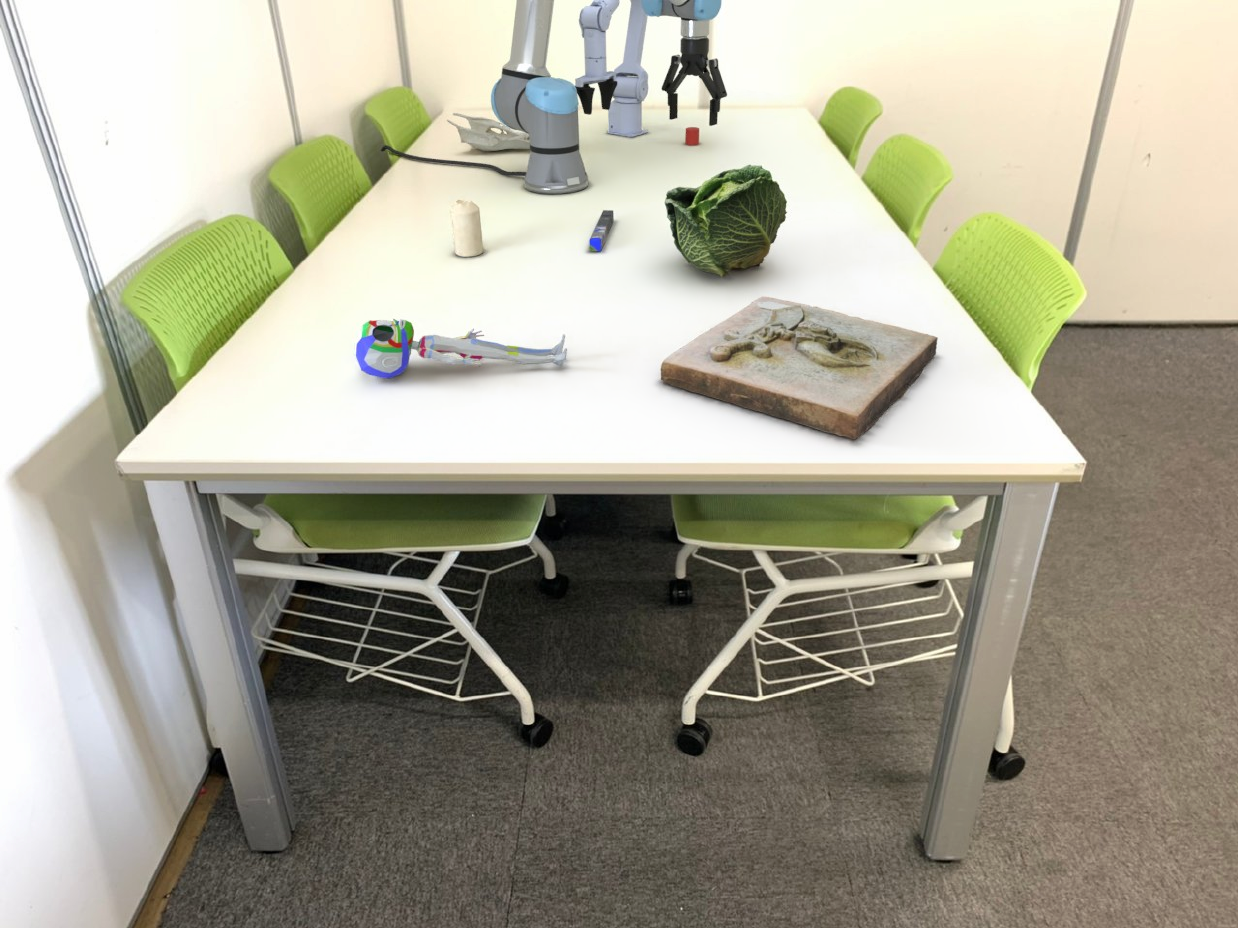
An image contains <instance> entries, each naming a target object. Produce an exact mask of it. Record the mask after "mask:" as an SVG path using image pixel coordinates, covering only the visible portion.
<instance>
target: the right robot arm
mask: <svg viewBox="0 0 1238 928" xmlns="http://www.w3.org/2000/svg"><path fill="white" fill-rule="evenodd" d="M629 1H630V10H629V17H628V23H627V30H626V37H625V43H624V44H625V45H624V52H623V57H622V63H621V64H619V65H617V66H616V67H615V68H614V70H610V71H609V70H608V71H607V69H608V68H607V30H608V29H609V28H610V24H611V20H612V15H614V13H615V11H616V10H617V9H618V8H619V6H620V2H621V1H620V0H593V1H592V2H591V4H590V5H585V6H584V7H583V8H581V10H580V12H579V16H578V17H579V18H578V24H579V28H580V30H581V36H582V38H583V46H584V47H583V49H584V50H583V51H584V52H583V53H584V75H582V76H580V77H577V78H575V80H574V82H575V85H574V86H575V87H576V90H577V97H578V99H579V100H580V103H581V107H582V111H583V114H584V115H589V116H590V115H592V112H593V99H594V93H595V90H596V88H595V87H591V85H595V84H597V87H598V89H599V94H600V103H601V109H602V110H605V111H606V110H607V114H608V115H607V116H608V117H607V118H608V119H607V120H608V122H607V123H608V130H607V131H606V133H607V134H609V135H610V134H611V135H615V136H622V137H628V138H634V137H636V136H641V135H644V134H647V133H649V130H645V129H643V121H642V120H643V108H642V107H643V102H644V101H645V99H646V98H647V96H648V93H649V73H648V72H647V70H645V68H643V66H642V65H641V64H642V59H643V52H644V51H643V50H644V45H645V39H646V38H645V37H646V30H647V25H648V17H649V16H648V15H647V14H646V13H645V12H644V10H643V8H642V4H641V0H629ZM613 99H614V100H613Z"/></svg>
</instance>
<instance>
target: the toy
mask: <svg viewBox="0 0 1238 928" xmlns="http://www.w3.org/2000/svg"><path fill="white" fill-rule="evenodd" d="M474 331H475V328H472V329H471V330H469V331H468V332H467V333H466V334H465V335H463V336H458V337H449V336H448V337H447V336H442V335H439V334H428V335H423V336H421V338H420V339H419V341H417V340H414V336H415V329H414V326H413V324H412V322H410V321H408V320H407V319H399V320H397V319H395V318H392V320H387V319H379V320H368V321H367V322H365V323H364V324H362V326H361V329H360V331H359V333H358V334H357V338H356V340H355V342H354V354H353V355H354V357H355V359H356V362H357V364H358V366H359V369H360V370H361V372H364V373H366V374H367V375H370V376H373V377H377V378H382V379H383V378H384V379H392V378H394V377H396V376H398V375H400V374H401V375H402V374H403V372H404V371H405V370H406V368H407V367H408V366H409V364H410V357H411V355H412V350H415V351H417V353H418V356H419V357H421V358H422V359H430V360H434V361H438V362H442V363H444V364H449V365H458V364H459V365H461V364H465V365H471V366H477V367H479V368H480V367H481V366H482V365H483V363H482V362H478V361H480V360H482V359H487V360H488V359H489V360H503V361H509V362H514V363H517V364H520V365H528V366H529V365H542V364H550V363H553V364H555V365H557V366H559V367H562V366H563V364H564V362H565V361H566V360H567V357H568V355H567V353H568V348H566V347H565V348H564V345H565V340H566V334H565V333H563V334H562V338H561V340H560V341H559V343H558V344H556V345H555V346H554V347H552V348H533V347H532V348H531V347H523V346H518V345H517V346H516V345H504V344H501V343H498V342H494V341H488V340H482V339H478V338H479V337H480V338H481V337H485V334H480V333H482V332H483V331H482V330H479V331H476V332H474ZM563 349H564V350H563ZM453 353H455V354H457V355H459V357H458V356H455V355H448V354H453ZM445 354H447V355H445Z"/></svg>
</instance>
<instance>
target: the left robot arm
mask: <svg viewBox="0 0 1238 928" xmlns="http://www.w3.org/2000/svg"><path fill="white" fill-rule="evenodd" d="M641 4H642V8H643V10H644V12H645V13H646V14H647V15H648V17H651V18H652V17H657V18H659V17H673V18H680V36H681V38H680V46H679V47H680V50H679V51H680V54H681V55H680V54H675V55H672V56H671V58H670V64H669V68H668V70H667V72H666V75H665V78H664V80H663V84H662V86H661V91H662V92H666V94H667V106H668V107H669V110H668V111H669V117H668V119H669V120H671V121H672V120H676V119H678V110H679V109H678V107H679V106H678V104H679V103H678V102H679V101H678V100H679V97H678V96H679V93H678V91H677V90H678V89H679V87H680V86H681V85H682V83H683V82H684V80H685V79H686V78H687V76H694V77H698V78H699V79H700V80H701V81H702V83H703V84H704V86H705V88H706V90H707V91H708V93H709V95H710V97H711V99H709V115H708V117H709V119H708V120H709V122H708V126H710V127H712V126H713V127H714V126H715V125H718V117H719V116H718V115H719V114H718V113H720V111H721V100H722V99H723V98H727V97H728V92H727V90H726V86H725V83H724V81H723V76H722V74H721V71H720V68H719V59H718V58H712V59H709V56H708V55H709V52H710V39H709V36H710V23H711V21H712V20H713V19H715V18H716V17H717V16H718V15H719V13H720V10H721V9H722V0H641ZM554 6H555V0H516V3H515V11H514V20H513V28H512V29H513V30H512V38H511V45H510V46H511V47H510V55H509V59H508V61H507V62H506V63H504V64H503V65H502V69H501V77H500V78H499V79H498V80H497V82H495V83H494V85H493V87H492V90H491V93H490V105H491V109H492V112H493V114H494V116H496V119H497V121H498V122H500V123H502V124H504V125H506V126H508V127H509V128H510V130H512V131H513V130H514V131H518V132H519V131H520V132H521V133H528V134H529V142H530V149H529V157H528V162H527V168H526V171H510V170H509V171H508V170H504V169H502V168H501V167H498V166H496V165H494V164H488V163H483V162H474V161H473V162H471V161H462V160H450V159H438V158H432V157H431V158H430V157H424V156H423V157H422V156H419V155H414V154H413V155H412V154H408V153H405V152H402V151H399V150H396V149H394V148H393V147H392V146H390V145H387V144H385V145H383V146H382V147H381V149H380V152H385V151H386V150H388V151H389V152H391V153H392V154H394V155H397V156H400V157H403V158H405V159H409V160H415V161H420V162H426V163H434V164H443V165H444V164H445V165H456V166H466V167H467V166H468V167H478V168H484V169H490V170H492V171H493V170H494V171H496V172H497V173H499V174H501V175H505V176H508V177H509V176H511V177H512V176H513V177H515V176H516V177H518V176H520V177H524V178H523V179H524V180H523V183H524V188H525V189H526V190H527V191H530V192H531V193H535V194H536V193H537V194H543V195H544V194H545V195H562V194H570V193H576V192H579V191H583V190H584V189H586V188H587V187H589V175H588V173H587V171H586V168H585V164H584V161H583V158H582V156H581V153H580V128H579V127H580V125H579V104H580V103H579V96H578V94H577V90H576V87H575V85H574V83H572V82H571V81H569V80H567V79H564V78H559V77H558V78H555V77H552V74H551V73H550V71H549V70H548V68H547V61H548V53H549V44H550V36H551V31H552V30H551V28H552V22H553V15H554V14H553V13H554ZM680 64H681V66H682V67H680ZM679 67H680V69H679ZM678 69H679V70H678ZM677 72H678V74H677Z"/></svg>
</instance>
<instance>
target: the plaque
mask: <svg viewBox="0 0 1238 928" xmlns="http://www.w3.org/2000/svg"><path fill="white" fill-rule="evenodd" d="M938 339H939V338H938V337H937V336H935V335H930V334H928V333H924V332H920V331H917V330H912V329H908V328H904V327H900V326H896V325H891V324H888V323H883V322H878V321H875V320H871V319H863V318H861V317H860V316H859V317H858V316H852V315H848V314H846V313H842V312H839V311H834V310H832V309H831V310H830V309H826V308H822V307H819V306H811V305H808V304H805V303H800V302H794V301H791V300H784V299H779V298H776V297H775V298H774V297H771V296H760V297H758V298H757V299H755V300H753V301H751V303H749V304H748V305H747V306H746V307H744V308H742V309H741V310H739V311H738V312H736V313H735V314H733V315H731V316H730V317H729V318H727V319H725V320H723V321H722V322H720V323H718V324H717V325H715V326H713V327H712V328H710V329H708V330H707V331H705V332H703V333H702V334H699V336H697V337H696V338H694V339H693V340H691V341H689V342H688V343H686V344H685V345H684V346H682V347H680V348H679V349H677V350H676V351H674V352H673V353H671V354H670V355H669V356H667V357H666V358H665V359H664V360H663V361H662V362H661V365H660V380H661V382H663V383H665V384H667V385H670V386H672V387H677V388H679V389H682V390H685V391H688V392H691V393H695V394H701V395H703V396H706V397H709V398H713V399H715V400H719V401H722V402H726V403H730V404H733V405H736V406H739V407H741V408H743V409H744V408H745V409H747V410H751V411H756V412H760V413H762V414H766V415H769V416H772V417H775V418H777V419H784V420H786V421H789V422H793V423H796V424H799V425H802V426H806V427H808V428H812V429H815V430H818V431H820V432H821V431H822V432H824V433H828V434H833V435H836V436H839V437H845V438H849V439H851V440H853V441H856V440H857V438H858V437H859V436H860V435H863V434H864V433H866V432H867V431H868V430H869V429H870V428H871V427H872V426H873V425H875V423H876V422H877V421H878V420H879V419H880V417H881V416H882V415H883V414H884V413H885V412H886V411H887V410H888V409H889V407H891V406H892V405H893V404H894V403H895V401H897V400H899V399H900V398H902V397H903V396H904V394H905V393H906V391H907V390H908V389H909V387H910V386H911V385H912V384H913V383H914V382H915V381H916V380H917V379H918V378H919V377H920V376H921V373H922V372H923V370H924V368H925V367H926V366H927V365H928V364H929V363H930V361H931V360H932V359H933V358H934V357H935V356H936V355H937V345H938Z"/></svg>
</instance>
